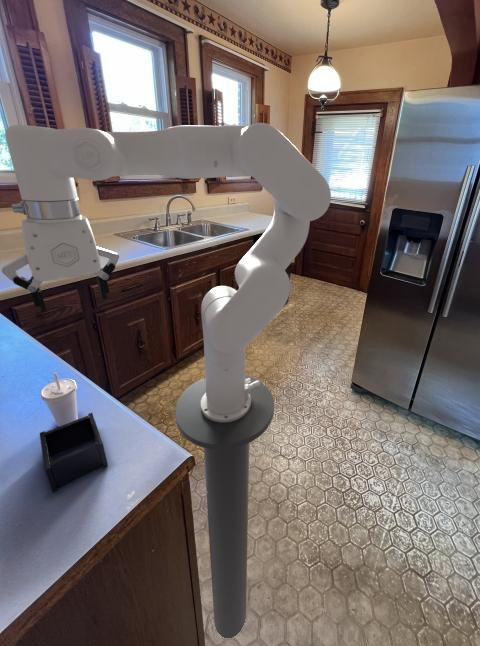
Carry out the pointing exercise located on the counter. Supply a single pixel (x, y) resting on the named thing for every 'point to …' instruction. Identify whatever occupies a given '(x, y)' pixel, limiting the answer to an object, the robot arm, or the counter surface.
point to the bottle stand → (77, 461)
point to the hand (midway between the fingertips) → (74, 303)
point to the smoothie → (61, 400)
